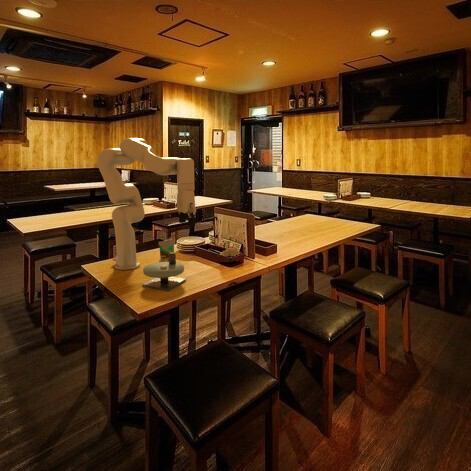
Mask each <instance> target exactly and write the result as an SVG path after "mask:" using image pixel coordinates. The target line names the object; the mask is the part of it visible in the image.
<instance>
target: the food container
mask: <svg viewBox="0 0 471 471" xmlns="http://www.w3.org/2000/svg"><path fill="white" fill-rule="evenodd" d="M175 243H176V239H175V238H174V237H173V236H172V237H171V236H169V238H167V239H164V240H162V241H158V246H159V248H158V249H159V255H160V259H169V253H170V252H175Z"/></svg>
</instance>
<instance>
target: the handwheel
mask: <svg viewBox="0 0 471 471" xmlns="http://www.w3.org/2000/svg"><path fill="white" fill-rule="evenodd" d="M176 257H177V255H176V252H175V251H174V252H170V253H169V258H168V261H160V262H159V261H158V262H154V263H150V264H147V265H145V266H144V267H143V269H142V270H143V272H142V273H143V275H144V276H146V277H149V278H152V279H153V278H167V277H178V276H180V275H181V274H183V273H184V272H185V266H184V265H183V264H182V263H179V262H177V258H176Z"/></svg>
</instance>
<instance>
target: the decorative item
mask: <svg viewBox="0 0 471 471" xmlns="http://www.w3.org/2000/svg"><path fill="white" fill-rule="evenodd" d="M219 254H220V255H223V256H236V255H239V254H241V252H240V251H239V250H237V249H236V248H233V247H228V248H226V249H225V250H223V251H222V252H220V253H219Z"/></svg>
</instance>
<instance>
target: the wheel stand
mask: <svg viewBox="0 0 471 471" xmlns="http://www.w3.org/2000/svg"><path fill="white" fill-rule="evenodd" d="M186 281H187V279H186V278H185V277H184V278H183V277H178V276H173V277H167V278H153V277H152V279H149V280H148V281H146V282H144V283H143V284H141V285H142V286H141V287H144V288H150V289H155V290H160V291H165V292H170V291H171V290H173V289H175V288H177V287H179V286H181V285H182V284H183V283H185V282H186Z"/></svg>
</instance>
